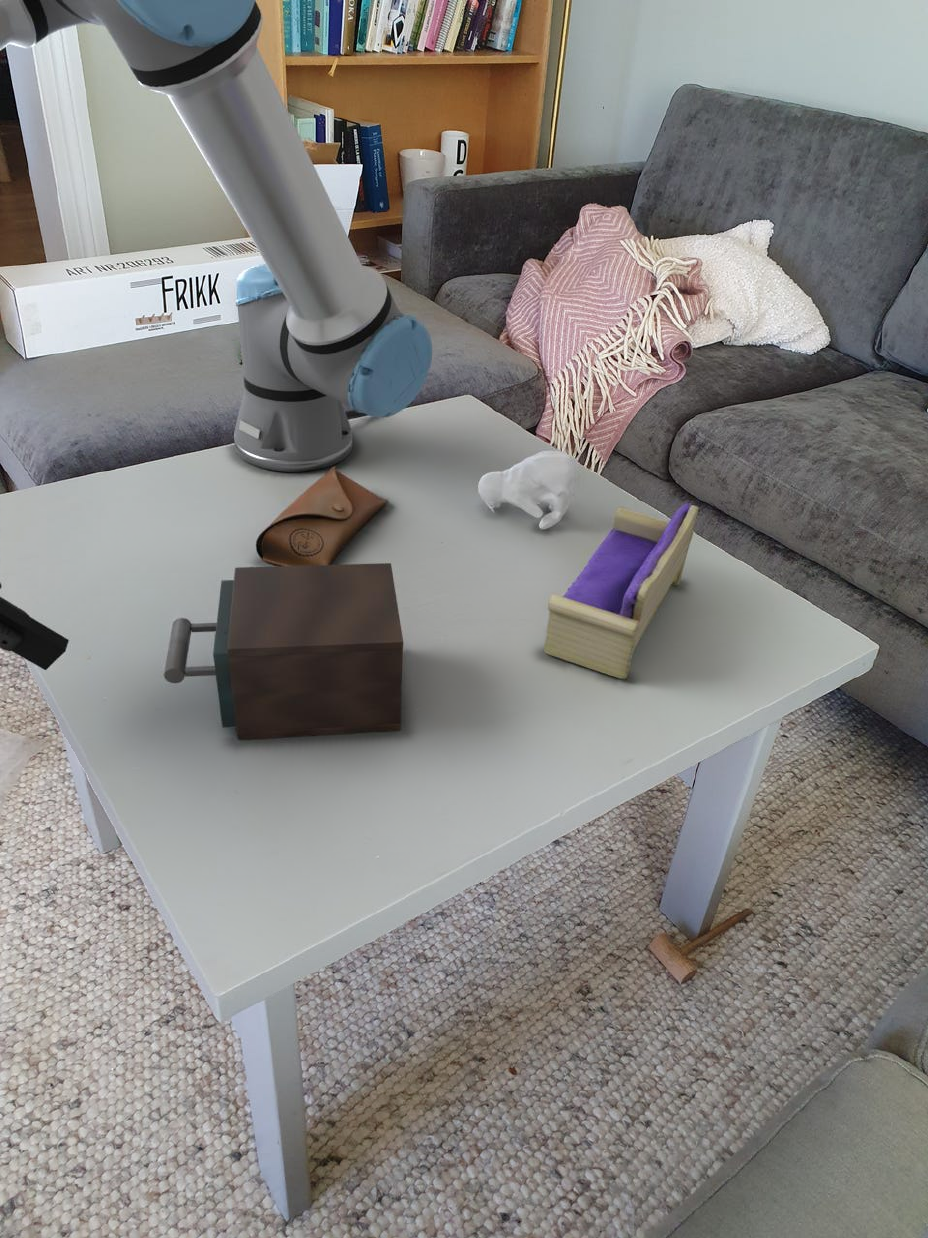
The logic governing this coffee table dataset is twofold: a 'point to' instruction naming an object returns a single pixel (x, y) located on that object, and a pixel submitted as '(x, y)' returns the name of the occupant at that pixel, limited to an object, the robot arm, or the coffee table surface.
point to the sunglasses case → (319, 522)
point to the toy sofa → (619, 591)
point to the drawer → (180, 647)
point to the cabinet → (315, 650)
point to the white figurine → (534, 485)
